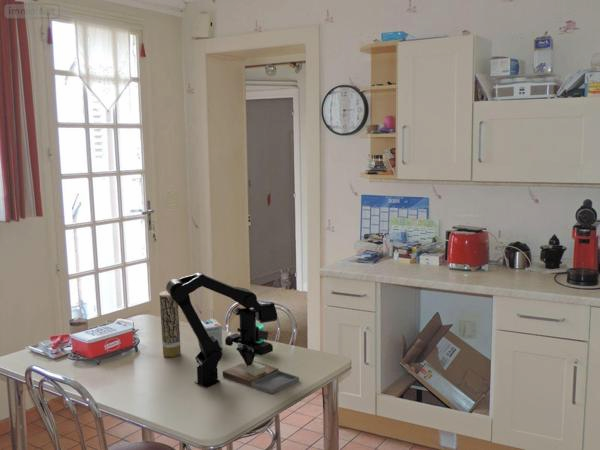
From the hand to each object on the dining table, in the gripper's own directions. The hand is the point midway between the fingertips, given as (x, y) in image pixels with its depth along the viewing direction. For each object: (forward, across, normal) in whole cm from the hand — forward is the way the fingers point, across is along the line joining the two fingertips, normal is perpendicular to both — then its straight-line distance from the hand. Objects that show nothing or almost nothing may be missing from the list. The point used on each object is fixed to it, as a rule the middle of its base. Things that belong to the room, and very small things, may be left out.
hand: (249, 367), depth 224 cm
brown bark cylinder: (+3, +38, +4) cm, 39 cm away
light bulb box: (+3, +31, -9) cm, 33 cm away
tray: (+3, -13, 0) cm, 13 cm away
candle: (+3, +14, -18) cm, 23 cm away
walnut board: (+3, -1, 0) cm, 3 cm away
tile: (+1, -3, 0) cm, 4 cm away
